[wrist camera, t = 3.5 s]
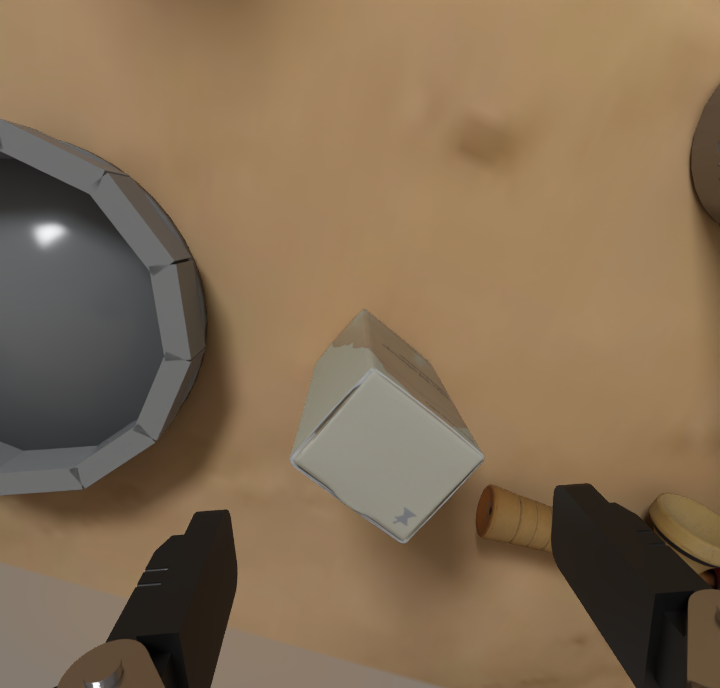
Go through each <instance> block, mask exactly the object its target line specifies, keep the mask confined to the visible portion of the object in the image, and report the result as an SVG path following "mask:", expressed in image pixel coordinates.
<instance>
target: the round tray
mask: <svg viewBox="0 0 720 688" xmlns="http://www.w3.org/2000/svg"><path fill="white" fill-rule="evenodd" d="M206 337H207V311H206V300H205V296H204V291H203V286H202V281H201V278H200V275H199V272H198V269H197V267H196V264H195V261H194V258H193V256H192V254H191V252H190V250H189V248H188V246H187V244H186V242H185V240H184V238H183V236H182V235H181V233H180V232H179V230H178V229H177V227H176V226H175V224H174V222H173V221H172V219H171V218H170V217H169V215H168V214H167V213H166V212H165V211H164V209H163V208H162V207H161V206H160V205H159V203H158V202H157V201H156V200H155V199H154V198H153V197H152V196H151V195H150V194H149V193H148V192H147V191H146V190H145V189H144V188H143V187H142V186H141V185H139V184H138V183H137V182H136V181H135V180H134V179H133V178H131V177H130V176H129V175H127V174H126V173H124V172H123V171H122V170H120V169H119V168H118V167H116V166H115V165H113V164H111V163H109V162H108V161H106V160H104V159H102V158H101V157H99V156H97V155H95V154H94V153H91V152H89V151H87V150H84V149H82V148H80V147H77V146H75V145H72V144H70V143H67V142H63V141H60V140H57V139H55V138H53V137H50V136H48V135H46V134H44V133H42V132H40V131H38V130H36V129H33V128H30V127H26V126H23V125H20V124H16V123H13V122H10V121H6V120H3V119H0V495H13V494H27V493H41V492H55V491H69V490H83V489H84V488H85V489H86V488H87V487H89V486H90V485H92V484H93V483H95V482H96V481H98V480H99V479H101V478H102V477H104V476H105V475H107V474H108V473H110V472H111V471H113V470H114V469H116V468H117V467H119V466H120V465H122V464H124V463H125V462H127V461H128V460H130V459H131V458H133V457H134V456H136V455H137V454H139V453H140V452H142V451H143V450H145V449H146V448H148V447H149V446H151V445H152V444H154V443H155V442H156V441H157V440H158V439H159V438H160V436H161V435H162V434H163V433H164V432H165V430H166V429H167V428H168V427H169V426H170V425H171V423H172V422H173V421H174V419H175V417H176V415H177V412H178V410H179V408H180V407H181V405H182V404H183V403H184V401H185V400H186V399H187V397H188V395H189V393H190V391H191V389H192V387H193V385H194V383H195V382H196V379H197V376H198V373H199V370H200V368H201V365H202V361H203V356H204V351H205V346H206Z"/></svg>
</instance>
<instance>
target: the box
mask: <svg viewBox="0 0 720 688" xmlns="http://www.w3.org/2000/svg"><path fill="white" fill-rule="evenodd" d="M483 461H484V455H483V453H482V452H481V450H480V449H479V447H478V445H477V443H476V442H475V440H474V438H473V436H472V435H471V433H470V431H469V430H468V428H467V426H466V424H465V423H464V421H463V419H462V418H461V416H460V414H459V412H458V411H457V409H456V407H455V405H454V403H453V402H452V400H451V398H450V396H449V395H448V393H447V391H446V390H445V388H444V386H443V384H442V383H441V381H440V379H439V377H438V376H437V374H436V372H435V370H434V368H433V367H432V365H431V364H430V362H429V361H427V360H426V359H425V358H424V357H423V356H422V355H420V354H419V353H418V352H417V351H416V350H414V349H413V348H412V347H411V346H410V345H408V344H407V343H406V342H405V341H404V340H402V339H401V338H400V337H399V336H398V335H396V334H395V333H394V332H393V331H391V330H390V329H389V328H388V327H387V326H385V325H384V324H383V323H382V322H380V321H379V320H378V319H377V318H375V317H374V316H373V315H372V314H370V313H369V312H368V311H367V310H365V309H363V310H362V311H361V312H360V313H359V314H358V315H357V316H356V317H355V318H354V319H353V320H352V321H351V322H350V324H349V325H348V326H347V327H346V328H345V329H344V330H343V331H342V333H341V334H340V335H339V336H338V337H337V338H336V340H335V341H334V342H333V343H332V344H331V345H330V347H329V348H328V349H327V350H326V351H325V353H324V354H323V355H322V356H321V358H320V359H319V360H318V361H317V363H316V364H315V368H314V372H313V376H312V380H311V384H310V388H309V392H308V395H307V399H306V402H305V406H304V410H303V413H302V417H301V421H300V424H299V428H298V432H297V435H296V439H295V443H294V446H293V449H292V452H291V455H290V462H291V464H292V465H293V466H294V467H295V468H296V469H297V470H299V471H300V472H302V473H303V474H304V475H306V476H307V477H308V478H310V479H311V480H312V481H314V482H315V483H316V484H318V485H319V486H320V487H322V488H323V489H324V490H326V491H327V492H329V493H330V494H331V495H333V496H334V497H335V498H337V499H338V500H340V501H341V502H342V503H344V504H345V505H347V506H348V507H349V508H351V509H352V510H354V511H355V512H356V513H358V514H359V515H361V516H362V517H364V518H365V519H366V520H368V521H369V522H371V523H372V524H374V525H375V526H377V527H378V528H379V529H381V530H382V531H384V532H385V533H387V534H388V535H390V536H391V537H393V538H394V539H396V540H397V541H398V542H400V543H403V544H404V543H406V542H407V541H408V540H409V539H410V538H411V537H412V536H413V535H414V534H415V533H416V532H417V531H418V530H419V529H420V528H421V527H422V526H423V525H424V524H425V523H426V522H427V521H428V520H429V519H430V518H431V517H432V516H433V515H434V514H435V513H436V512H437V511H438V510H439V509H440V508H441V506H442V505H443V504H444V503H445V502H446V501H447V500H448V499H449V498H450V497H451V496H452V495H453V494H454V493H455V492H456V491H457V490H458V488H459V487H460V486H461V485H462V484H463V483H464V482H465V481H466V480H467V479H468V477H469V476H470V475H471V474H472V473H473V472H474V471H475V470H476V469H477V468H478V467H479V466H480V465H481V463H482V462H483Z"/></svg>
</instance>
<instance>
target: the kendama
mask: <svg viewBox="0 0 720 688" xmlns="http://www.w3.org/2000/svg"><path fill="white" fill-rule="evenodd" d="M552 512H553V507H550V506H547V505H545V504H542V503H539V502H536V501H533V500H531V499H528V498H526V497H523V496H520V495H516V494H515V493H512V492H510V491H507V490H505V489H502V488H500V487H497V486H494V485H492V484H491V485H488V486H487V487H486V488H485V489H484V491H483V493H482V495H481V498H480V501H479V504H478V508H477V514H476V527H477V532H478V535H479V536H480V537H482V538H485V539H490V540H495V541H500V542H509V543H511V544H515V545H520V546H525V547H528V548H533V549H537V550H542V551H546V552H550V553H553V552H552V547H551V529H552ZM649 514H650V517H651V520H652V523H653V527H654V533H656V534H657V535H658V536H659V537H660V538H661V539H662V540H663V541H664V542H665V544H666V546H670V547H671V548H672V549H673V550H674V551H675V552H676V553H677V554H678V555H679V556H680V557H681V558H682V559H683V560H684V561H685V562H686V563H687V564H688V565H689V566H690V567H691V568H692V569H693V570H694V571H695V572H696V573H697V574H698V575H699V576H701V577H702V578H703V579H704V580H705V581H706V582H707V583H708V584H709V585H710V586H711V587H712V588H713V589H715V590H720V516H719V515H717V514H716V513H714V512H713V511H711V510H710V509H708V508H706V507H705V506H703V505H701V504H699V503H697V502H695V501H693V500H691V499H688V498H686V497H683V496H680V495H676V494H668V493H666V494H660V495H659V496H658V497H657V498H656V500H655V501H654V502H653V503H652V505H651V506H650V509H649Z"/></svg>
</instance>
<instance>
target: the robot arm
mask: <svg viewBox="0 0 720 688" xmlns="http://www.w3.org/2000/svg"><path fill="white" fill-rule="evenodd" d="M691 170H692V175H693V180H694V185H695V190H696V192H697V194H698V196H699V199H700V201H701V203H702V205H703V207H704V208H705V209H706V210H707V212H708V213H709V214H710V216H711V217H712V218H713V219H714V220H715V221H716V222H718V223H719V224H720V84H719V85H718V87H717V88H716V89H715V91H714V93H713V94H712V96H711V97H710V99H709V101H708V102H707V104H706V106H705V107H704V110H703V112H702V115H701V117H700V120H699V122H698V125H697V127H696V131H695V136H694V141H693V145H692V165H691ZM551 547H552V552H553V556H554V559H555V562H556V564H557V566H558V568H559V570H560V571H561V573H562V574H563V576H564V577H565V579H566V580H567V582H568V583H569V585H570V586H571V588H572V590H573V591H574V593H575V594H576V596H577V597H578V599H579V600H580V602H581V603H582V605H583V606H584V608H585V610H586V611H587V613H588V614H589V616H590V617H591V619H592V620H593V622H594V623H595V625H596V627H597V628H598V630H599V631H600V633H601V634H602V636H603V637H604V639H605V640H606V642H607V643H608V645H609V647H610V648H611V650H612V651H613V653H614V654H615V656H616V657H617V659H618V660H619V662H620V664H621V665H622V667H623V668H624V670H625V671H626V673H627V674H628V676H629V677H630V679H631V680H632V682H633V684H634V685H635V687H636V688H720V590H715V589H713V588H712V587H711V586H710V585H709V584H708V583H707V582H706V581H705V580H704V579H703V578H702V577H701V576H699V575H698V574H697V573H696V572H695V571H694V570H693V569H692V568H691V567H690V566H689V565H688V564H687V563H686V562H685V561H684V560H683V559H682V558H681V557H680V556H679V555H678V554H677V553H676V552H675V551H674V550H673V549H672V548H671V547H670V546H666V544H665V542H664V541H663V540H662V539H661V538H660V537H659V536H658V535H657V534H656V533H653V532H652V529H651V528H650V527H649V526H648V525H647V524H646V523H645V522H644V521H643V520H642V519H641V518H640V517H639V516H637V515H636V514H635V513H633V512H631V511H629V510H627V509H626V508H624V507H622V506H620V505H619V504H617V503H615V502H614V503H609V502H608V501H607V500H606V499H605V498H604V497H603V496H602V495H601V494H600V493H599V492H598V491H597V490H596V489H595V488H594V487H593V486H592V485H591V484H588V483H584V484H571V485H559V486H556V488H555V490H554V496H553V512H552V529H551ZM236 587H237V560H236V552H235V545H234V538H233V530H232V523H231V516H230V513H229V511H228V510H214V511H200V512H196V513H195V514H194V515H193V517H192V520H191V522H190V524H189V526H188V528H187V530H186V532H185V534H184V535H174V536H171V537H170V538H169V539H168V540H167V541H166V542H165V543H163V544H162V545H161V546H160V547H159V548H158V549H157V550H156V551H155V552H154V554H153V556H152V558H151V560H150V561H149V563H148V565H147V567H146V569H145V572H143V574H142V576H141V578H140V580H139V582H138V585H137V587H136V588H135V589H134V591H133V593H132V595H131V596H130V598H129V600H128V602H127V604H126V606H125V608H124V610H123V611H122V613H121V615H120V617H119V619H118V620H117V622H116V624H115V626H114V628H113V630H112V632H111V633H110V635H109V637H108V639H107V641H106V643H104V644H102V645H100V646H98V647H95V648H94V649H92V650H90V651H89V652H87V653H85V654H84V655H83V656H81V657H80V658H79V659H78V660H77V661H76V662H74V663H73V664H72V665H71V666H70V668H69V669H68V670H67V671H66V673H65V674H64V675H63V677H62V678H61V680H60V682H59V684H58V686H56V687H54V688H210V687H211V683H212V680H213V675H214V672H215V668H216V665H217V661H218V657H219V653H220V649H221V646H222V642H223V638H224V634H225V631H226V627H227V623H228V619H229V615H230V612H231V608H232V604H233V600H234V597H235V592H236Z"/></svg>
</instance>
